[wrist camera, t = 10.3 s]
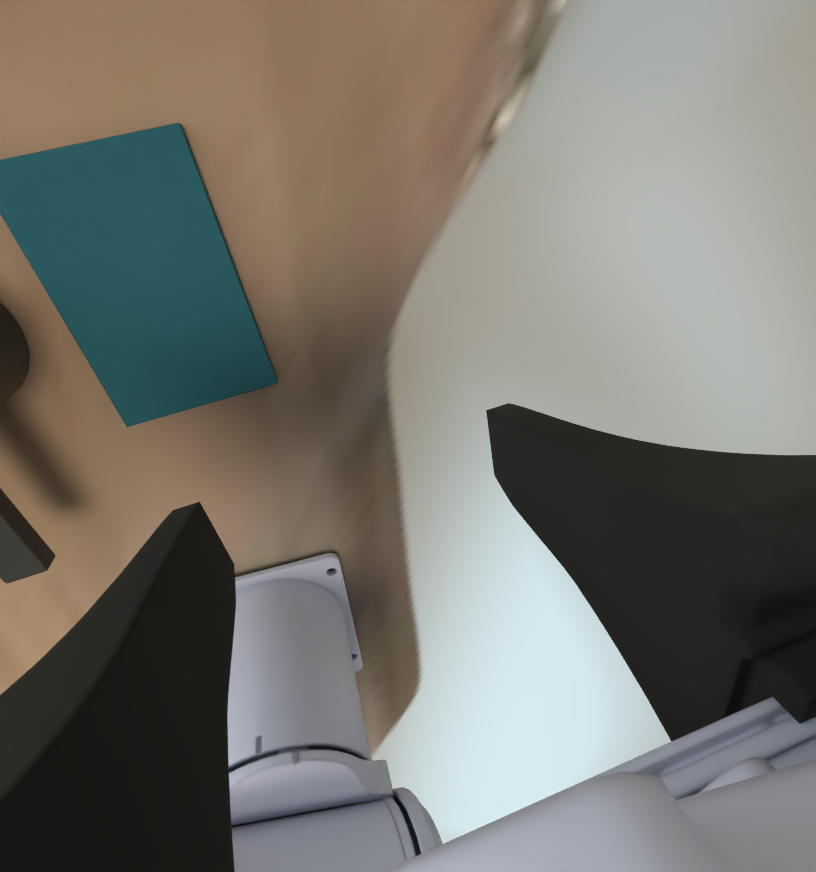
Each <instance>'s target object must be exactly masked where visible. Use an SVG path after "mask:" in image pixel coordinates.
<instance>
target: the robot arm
mask: <svg viewBox="0 0 816 872" xmlns="http://www.w3.org/2000/svg"><path fill="white" fill-rule="evenodd" d="M487 419H488V427H489V435H490V443H491V451H492V459H493V467H494V475H495V477H496V479H497V480H498V482H499V484H500V485H501V487H502V489H503V491H504V492H505V494H506V495H507V497H508V499H509V500H510V502H511V503H512V505H513V506H514V507H515V509H516V510H517V511H518V512H519V514H520V515H521V516H522V517H523V519H524V520H525V521H526V522H527V524H528V525H529V526H530V527H531V528H532V530H533V531H534V532H535V533H536V534H537V536H538V537H539V538H540V539H541V541H542V542H543V543H544V544H545V545H546V546H547V548H548V549H549V550H550V551H551V552H552V554H553V555H554V556H555V557H556V559H557V560H558V561H559V562H560V563H561V565H562V566H563V567H564V568H565V570H566V571H567V572H568V574H569V575H570V576H571V578H572V579H573V580H574V582H575V583H576V585H577V586H578V587H579V589H580V591H581V592H582V594H583V595H584V597H585V598H586V600H587V601H588V603H589V604H590V606H591V607H592V609H593V610H594V612H595V613H596V615H597V617H598V618H599V620H600V621H601V623H602V624H603V626H604V628H605V629H606V631H607V632H608V634H609V636H610V637H611V639H612V640H613V642H614V644H615V645H616V647H617V648H618V650H619V652H620V653H621V655H622V656H623V658H624V660H625V662H626V663H627V665H628V666H629V668H630V670H631V671H632V673H633V675H634V677H635V678H636V680H637V682H638V683H639V685H640V687H641V688H642V690H643V692H644V693H645V695H646V697H647V699H648V700H649V702H650V704H651V706H652V708H653V709H654V711H655V713H656V715H657V716H658V718H659V720H660V722H661V723H662V725H663V727H664V729H665V731H666V732H667V734H668V736H669V738H670V740H671V741H672V742H670V743H667V744H665V745H663V746H661V747H659V748H656V749H654V750H652V751H650V752H647V753H645V754H643V755H641V756H638V757H636V758H634V759H632V760H630V761H627V762H625V763H623V764H621V765H618V766H616V767H614V768H612V769H609V770H607V771H605V772H603V773H601V774H599V775H596V776H594V777H592V778H590V779H587V780H585V781H583V782H581V783H578V784H576V785H574V786H572V787H570V788H567V789H565V790H563V791H561V792H559V793H556V794H554V795H552V796H549V797H547V798H545V799H543V800H541V801H538V802H536V803H534V804H532V805H529V806H527V807H525V808H523V809H520V810H518V811H516V812H514V813H511V814H509V815H507V816H505V817H502V818H500V819H498V820H496V821H494V822H491V823H489V824H487V825H485V826H482V827H480V828H478V829H476V830H474V831H471V832H469V833H467V834H465V835H462V836H460V837H458V838H456V839H453V840H451V841H449V842H447V843H445V844H442V841H441V838H440V835H439V833H438V831H437V828H436V826H435V824H434V822H433V820H432V818H431V816H430V815H429V813H428V812H427V810H426V809H425V808H424V807H423V806H422V805H421V803H420V802H419V801H418V799H417V798H416V796H415V795H414V794H413V793H412V792H411V791H410V790H408V789H406V788H396V789H392V785H391V780H390V776H389V771H388V767H387V762H386V761H385V760H377V761H372V759H371V754H370V749H369V744H368V739H367V733H366V728H365V723H364V718H363V712H362V707H361V702H360V697H359V692H358V686H357V681H356V676H355V672H358V671H359V670H361V669H362V667H363V662H362V658H361V653H360V649H359V644H358V640H357V636H356V631H355V627H354V623H353V618H352V614H351V609H350V605H349V601H348V596H347V592H346V588H345V583H344V579H343V574H342V570H341V566H340V561H339V557H338V556H337V555H336V554H334V553H327V554H323V555H319V556H315V557H311V558H308V559H304V560H300V561H296V562H292V563H288V564H285V565H281V566H277V567H273V568H269V569H266V570H262V571H258V572H254V573H250V574H246V575H243V576H239V577H235V572H234V563H233V561H232V560H231V558H230V556H229V554H228V552H227V550H226V549H225V547H224V545H223V543H222V541H221V540H220V538H219V536H218V534H217V532H216V531H215V529H214V527H213V525H212V523H211V522H210V520H209V518H208V516H207V514H206V513H205V511H204V509H203V507H202V505H201V504H200V502H198V503H194V504H191V505H188V506H185V507H182V508H179V509H176V510H173V511H172V512H171V513H170V514H169V515H168V516H167V517H166V518H165V520H164V521H163V522H162V523H161V524H160V526H159V527H158V528H157V529H156V530H155V532H154V533H153V534H152V535H151V537H150V538H149V539H148V540H147V542H146V543H145V544H144V546H143V547H142V548H141V549H140V550H139V552H138V553H137V554H136V555H135V557H134V558H133V559H132V560H131V562H130V563H129V564H128V565H127V567H126V568H125V569H124V570H123V571H122V573H121V574H120V575H119V576H118V577H117V579H116V580H115V581H114V582H113V583H112V584H111V585H110V587H109V588H108V589H107V590H106V591H105V592H104V593H103V595H102V596H101V597H100V598H99V599H98V600H97V601H96V603H95V604H94V605H93V606H92V607H91V608H90V609H89V611H88V612H87V613H86V614H85V615H84V616H83V617H82V618H81V619H80V620H79V621H78V623H77V624H76V625H75V626H74V627H73V628H72V629H71V630H70V631H69V632H68V633H67V634H66V635H65V636H64V637H63V638H62V639H61V640H60V641H59V642H58V643H57V644H56V645H55V646H54V647H53V648H52V649H51V650H50V651H49V652H48V653H47V654H46V655H45V656H44V657H42V658H41V659H40V660H39V661H38V662H37V663H36V664H35V665H34V666H33V667H32V668H31V669H30V670H29V671H27V672H26V673H25V674H24V675H23V676H22V677H21V678H19V679H18V680H17V681H16V682H15V683H14V684H13V685H11V686H10V687H9V688H8V689H7V690H6V691H5V692H3V693H2V694H1V695H0V872H816V455H793V456H792V455H787V456H786V455H761V454H740V453H727V452H715V451H706V450H696V449H688V448H680V447H673V446H666V445H660V444H655V443H649V442H644V441H639V440H634V439H629V438H625V437H620V436H616V435H613V434H609V433H605V432H600V431H597V430H593V429H590V428H586V427H583V426H580V425H576V424H573V423H570V422H567V421H564V420H560V419H557V418H555V417H551V416H548V415H545V414H542V413H539V412H536V411H533V410H530V409H527V408H524V407H521V406H517V405H514V404H505V405H502V406H499V407H496V408H492V409H489V410H487ZM331 568H334V570H331V571H329V570H328V569H331Z"/></svg>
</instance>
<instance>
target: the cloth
mask: <svg viewBox="0 0 816 872" xmlns="http://www.w3.org/2000/svg"><path fill="white" fill-rule="evenodd" d="M0 214H1V216H2V217H3V219H4V221H5V222H6V224H7V226H8V227H9V229H10V231H11V232H12V234H13V236H14V238H15V239H16V241H17V243H18V244H19V246H20V248H21V249H22V251H23V253H24V254H25V256H26V258H27V259H28V261H29V263H30V264H31V266H32V268H33V270H34V271H35V273H36V275H37V276H38V278H39V280H40V281H41V283H42V285H43V286H44V288H45V290H46V291H47V293H48V295H49V296H50V298H51V300H52V302H53V303H54V305H55V307H56V308H57V310H58V312H59V313H60V315H61V317H62V318H63V320H64V322H65V323H66V325H67V327H68V328H69V330H70V332H71V334H72V335H73V337H74V339H75V340H76V342H77V344H78V345H79V347H80V349H81V350H82V352H83V354H84V355H85V357H86V359H87V360H88V362H89V364H90V366H91V367H92V369H93V371H94V372H95V374H96V376H97V377H98V379H99V381H100V382H101V384H102V386H103V387H104V389H105V391H106V392H107V394H108V396H109V397H110V399H111V401H112V403H113V404H114V406H115V408H116V409H117V411H118V413H119V414H120V416H121V418H122V419H123V421H124V423H125V424H126V426H127V427H129V426H133V425H136V424H139V423H143V422H146V421H150V420H153V419H157V418H160V417H163V416H167V415H170V414H174V413H177V412H181V411H184V410H187V409H191V408H194V407H198V406H201V405H205V404H208V403H212V402H215V401H218V400H222V399H225V398H229V397H232V396H236V395H239V394H242V393H246V392H249V391H253V390H256V389H260V388H263V387H266V386H270V385H273V384H277V378H276V375H275V372H274V370H273V367H272V364H271V362H270V359H269V356H268V354H267V351H266V348H265V346H264V343H263V340H262V338H261V335H260V332H259V330H258V327H257V324H256V322H255V319H254V316H253V314H252V311H251V308H250V306H249V303H248V300H247V298H246V295H245V292H244V290H243V287H242V284H241V282H240V279H239V276H238V274H237V271H236V268H235V266H234V263H233V260H232V258H231V255H230V252H229V250H228V247H227V245H226V242H225V239H224V237H223V234H222V231H221V229H220V226H219V223H218V221H217V218H216V215H215V213H214V210H213V207H212V205H211V202H210V199H209V197H208V194H207V191H206V189H205V186H204V183H203V181H202V178H201V175H200V173H199V170H198V167H197V165H196V162H195V159H194V157H193V154H192V151H191V149H190V146H189V143H188V141H187V138H186V135H185V133H184V130H183V127H182V125H181V124H180V123H176V124H171V125H166V126H161V127H157V128H152V129H147V130H142V131H137V132H133V133H128V134H123V135H118V136H113V137H109V138H104V139H99V140H94V141H89V142H85V143H80V144H75V145H70V146H65V147H61V148H56V149H51V150H46V151H41V152H37V153H32V154H27V155H22V156H17V157H13V158H8V159H3V160H0Z"/></svg>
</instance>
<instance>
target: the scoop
mask: <svg viewBox="0 0 816 872" xmlns="http://www.w3.org/2000/svg"><path fill="white" fill-rule="evenodd" d="M28 363H29V355H28V348H27V344H26V341H25V338H24V336H23V333H22V331H21V330H20V328H19V326H18V324H17V323H16V321H15V320H14V319H13V317H12V316H11V315H10V314H9V313H8V311H7V310H6V309H5V308H4V307H3V306H2V305H1V304H0V404H1V403H2V402H3V401H4V400H6V399H7V398H8V397H9V396H10V395H12V394H13V393H14V392H15V391H16V390H17V389H18V388H19V386H20V385H21V384H22V382H23V380H24V378H25V376H26V373H27V370H28ZM54 558H55V554H54V553H53V552H52V550H51V549H50V548H49V547H48V546H47V544H46V543H45V542H44V541H43V540H42V538H41V537H40V536H39V535H38V533H37V532H36V531H35V530H34V529H33V527H32V526H31V525H30V524H29V523H28V521H27V520H26V519H25V518H24V516H23V515H22V514H21V513H20V512H19V510H18V509H17V508H16V507H15V506H14V504H13V503H12V502H11V501H10V499H9V498H8V497H7V496H6V495H5V493H4V492H3V491H2V490H1V489H0V578H1V579H2V580H3V581H4V582H5V583H10V582H13V581H16V580H19V579H22V578H25V577H29V576H32V575H35V574H38V573H41V572H44V571H47V570H48V569H49V567H50V565H51V563H52V561H53V560H54Z"/></svg>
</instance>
